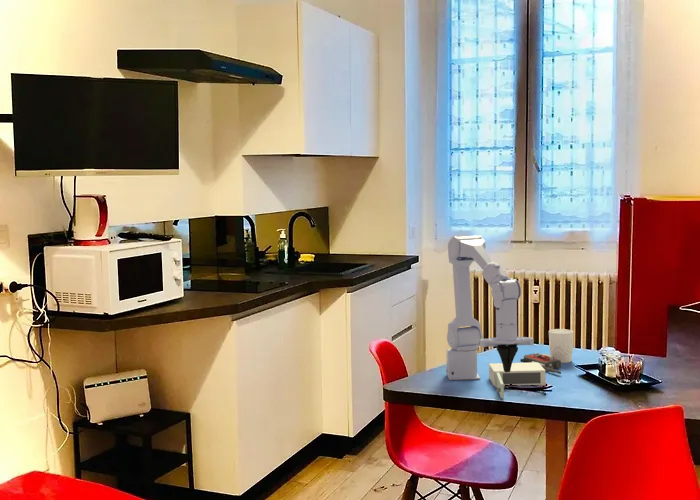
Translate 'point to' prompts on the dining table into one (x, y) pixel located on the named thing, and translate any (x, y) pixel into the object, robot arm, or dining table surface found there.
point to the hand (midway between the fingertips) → (506, 371)
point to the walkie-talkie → (543, 361)
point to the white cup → (561, 344)
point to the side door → (500, 385)
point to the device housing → (518, 374)
